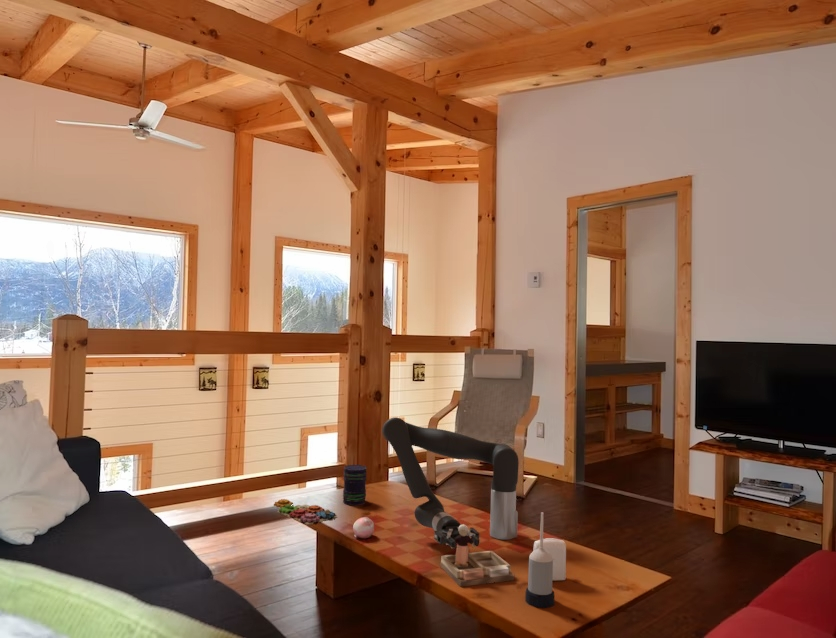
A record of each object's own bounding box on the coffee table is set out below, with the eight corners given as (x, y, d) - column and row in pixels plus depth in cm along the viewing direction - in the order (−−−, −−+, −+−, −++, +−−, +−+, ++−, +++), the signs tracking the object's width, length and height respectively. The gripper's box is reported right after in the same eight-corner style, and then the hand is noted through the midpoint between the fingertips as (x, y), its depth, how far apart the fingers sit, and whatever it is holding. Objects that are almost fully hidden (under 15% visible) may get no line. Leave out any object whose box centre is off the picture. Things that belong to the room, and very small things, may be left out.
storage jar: (357, 497, 273) (358, 463, 273) (370, 502, 265) (371, 468, 265) (338, 501, 266) (339, 466, 266) (350, 506, 259) (351, 471, 259)
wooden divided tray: (491, 560, 203) (491, 550, 203) (514, 580, 188) (514, 568, 188) (440, 566, 197) (440, 555, 197) (460, 586, 182) (460, 574, 182)
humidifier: (551, 595, 178) (554, 509, 178) (556, 608, 170) (559, 518, 170) (523, 594, 178) (525, 508, 179) (527, 607, 170) (529, 516, 170)
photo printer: (534, 582, 187) (535, 541, 187) (530, 576, 192) (532, 536, 192) (567, 581, 188) (568, 541, 188) (562, 575, 193) (564, 536, 193)
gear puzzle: (263, 508, 255) (263, 498, 255) (296, 501, 266) (296, 491, 266) (307, 527, 233) (308, 516, 233) (341, 518, 244) (341, 508, 244)
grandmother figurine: (452, 568, 189) (454, 527, 189) (449, 563, 193) (450, 523, 193) (476, 566, 191) (477, 525, 191) (472, 561, 195) (473, 521, 195)
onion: (372, 543, 219) (369, 525, 217) (351, 542, 221) (348, 525, 219) (377, 529, 227) (374, 512, 225) (357, 529, 228) (354, 512, 226)
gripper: (426, 517, 203) (445, 534, 188) (466, 513, 208) (487, 530, 193) (425, 539, 203) (444, 558, 188) (465, 535, 208) (487, 554, 193)
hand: (466, 544), depth 190 cm, fingers closed on grandmother figurine, 7 cm apart
